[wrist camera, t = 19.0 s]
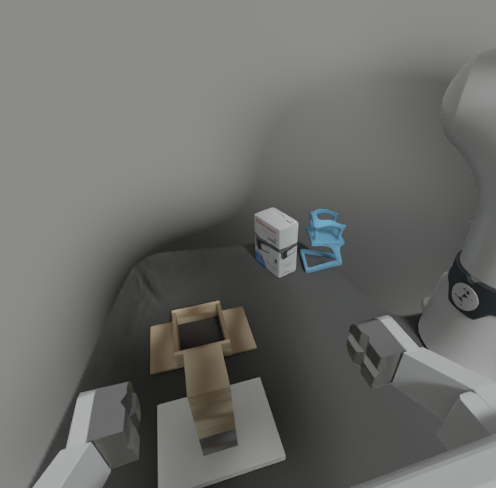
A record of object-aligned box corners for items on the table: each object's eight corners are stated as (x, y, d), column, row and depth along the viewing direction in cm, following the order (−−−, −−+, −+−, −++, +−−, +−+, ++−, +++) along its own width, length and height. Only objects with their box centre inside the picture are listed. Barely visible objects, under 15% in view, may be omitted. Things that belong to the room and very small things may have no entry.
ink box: (254, 259, 66) (252, 212, 60) (271, 252, 69) (271, 205, 62) (278, 279, 60) (279, 229, 54) (296, 270, 63) (299, 221, 56)
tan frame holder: (242, 307, 54) (241, 295, 52) (256, 348, 47) (256, 335, 45) (151, 328, 51) (147, 316, 49) (150, 375, 44) (145, 362, 42)
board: (260, 381, 42) (259, 376, 41) (285, 459, 34) (285, 455, 33) (158, 409, 39) (157, 405, 39) (160, 501, 31) (158, 498, 31)
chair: (345, 272, 62) (355, 221, 55) (305, 273, 62) (310, 222, 55) (335, 251, 68) (343, 203, 62) (299, 252, 68) (303, 204, 62)
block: (229, 404, 38) (220, 343, 32) (237, 445, 34) (230, 386, 28) (198, 412, 38) (183, 352, 31) (203, 456, 34) (187, 397, 27)
